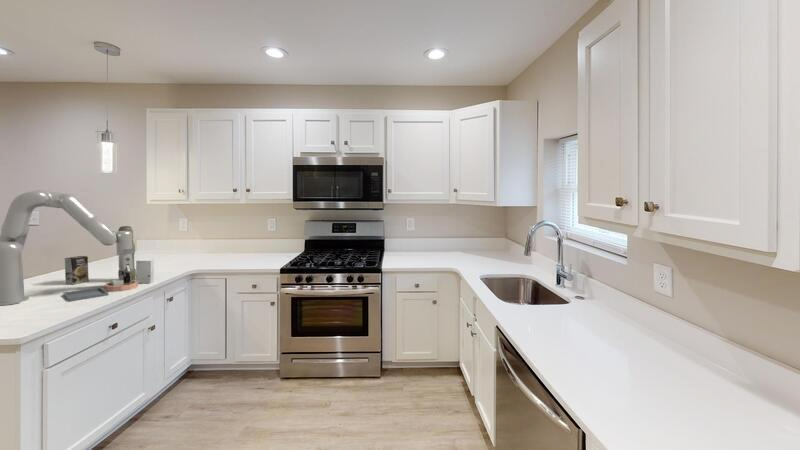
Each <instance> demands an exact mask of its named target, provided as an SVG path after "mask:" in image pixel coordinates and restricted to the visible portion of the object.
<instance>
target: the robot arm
mask: <svg viewBox="0 0 800 450" xmlns="http://www.w3.org/2000/svg"><path fill="white" fill-rule="evenodd" d="M38 207H47V208H54V209H55V208H56V209H62V210H63V211H64V212H66V213H67V214H68V215H69V216H70V217H71V218H72V219H73V220H75V222H77V223H78V224H79V225H80V226H81V227H82V228H84V229H85V230H86V231H88V232H89V233H90V234H91V235H92V236H93V238H95V239H96V240H98V242H100V243H101V244H102V245H104V246H112V245H114V244H116V255H117V256H118V270H119V269H120V270H121V274H122V275H123V274H124V283H128V282H131V277H130V270H131V271H132V270H133V261H132V255H131V254H133V250H132V233H131V232H130V231H117V230H116V231H114V230H113V231H111V230H110V229H109V228H108V227H107V226H106V225H105V224H104V223H103V222H102V221H101V220H100V219H99V217H98V216H97V215H96V214H95V212H93V211H92V210H91V209H89V208H88V207H87V206H86V205H85V204H84V203H83V202H82V201H81V200H80V199H79V198H78V197H77V196H76V195H74V194H71V193H61V192H54V191H47V190H41V189H40V190H32V191H26V192H24V193H21V194H19V195H17V196H16V197H15V198H14V199H13V200H12V201H11V202H10V205H9V207H8V210H7V212H6V215H5V217H4V218H5V219H4V221H3V224H2V226H1V227H0V228H1V229H0V231H1V232H0V306H8V305H9V306H10V305H16V304H20V303H22V302H27V301H29V299H30V297H29V296H27V295H25V283H24V267H23V257H22V252H23V249H24V247H25V243H26V241H27V237H28V234H29V230H30V225H29V223H30V219H31V218H32V214H33V211H34V210H35V209H36V208H38Z"/></svg>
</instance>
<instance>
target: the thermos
mask: <svg viewBox="0 0 800 450" xmlns="http://www.w3.org/2000/svg"><path fill="white" fill-rule="evenodd" d="M118 231H130V232H131V233H132V250H133V254H131V255H132V261H133V270H132V271H131V270H130V275H131V279H132V280H136V265H135V252H136V247H135V243H134V231H133V228H132V226H130V225H129V226H127V225H125V226H124V225H123V226H120V227H118ZM118 231H117V232H118ZM117 274H118V279H120V275H122V274H121V270H120V269H119V268H118V272H117Z"/></svg>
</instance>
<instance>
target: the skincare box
mask: <svg viewBox="0 0 800 450" xmlns="http://www.w3.org/2000/svg"><path fill="white" fill-rule="evenodd" d="M135 264H136V265H135V269H136V281H138V285H139V284H141V285H143V284H151V283H154V280H155V279H154V278H155V272H154V271H155V268H154V267H155V259H154V258H139V259H136V262H135Z"/></svg>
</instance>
